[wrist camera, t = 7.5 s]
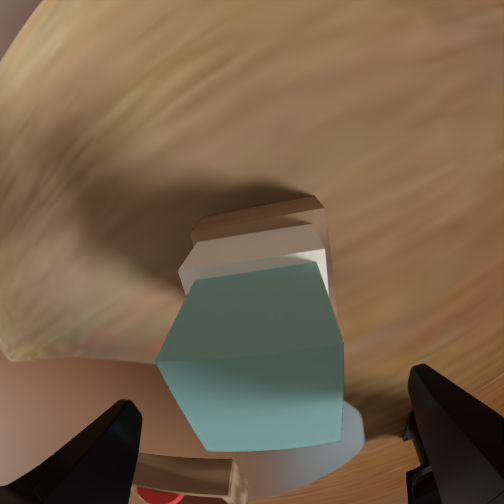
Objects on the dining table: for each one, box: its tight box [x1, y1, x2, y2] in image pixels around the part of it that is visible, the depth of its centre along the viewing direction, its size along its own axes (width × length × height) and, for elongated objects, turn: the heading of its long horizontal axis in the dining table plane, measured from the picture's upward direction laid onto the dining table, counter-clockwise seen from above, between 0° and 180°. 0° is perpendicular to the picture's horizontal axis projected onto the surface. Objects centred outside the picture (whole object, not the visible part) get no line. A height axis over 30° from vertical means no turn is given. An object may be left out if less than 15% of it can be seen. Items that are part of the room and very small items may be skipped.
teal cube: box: [155, 262, 344, 451], centre depth 10 cm, size 5×5×5 cm
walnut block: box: [190, 196, 337, 320], centre depth 17 cm, size 7×7×4 cm
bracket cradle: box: [131, 453, 249, 504], centre depth 29 cm, size 9×16×6 cm, turn 102°
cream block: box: [178, 224, 329, 297], centre depth 14 cm, size 6×6×4 cm
